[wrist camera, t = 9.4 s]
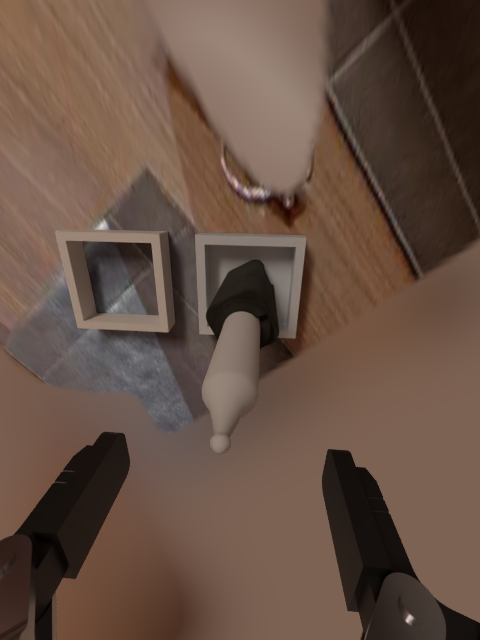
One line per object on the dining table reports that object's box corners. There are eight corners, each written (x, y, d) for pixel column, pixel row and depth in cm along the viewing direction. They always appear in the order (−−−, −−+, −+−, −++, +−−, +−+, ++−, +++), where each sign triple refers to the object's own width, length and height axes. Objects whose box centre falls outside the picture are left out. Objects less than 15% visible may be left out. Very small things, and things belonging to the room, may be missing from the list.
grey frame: (72, 229, 33) (54, 231, 30) (167, 231, 32) (159, 233, 30) (91, 319, 38) (77, 328, 35) (175, 323, 37) (168, 332, 34)
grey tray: (200, 232, 32) (195, 234, 29) (302, 234, 31) (306, 237, 29) (204, 324, 37) (199, 333, 34) (292, 328, 36) (295, 338, 33)
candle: (277, 293, 34) (304, 477, 11) (241, 309, 35) (196, 505, 12) (259, 255, 32) (248, 380, 9) (222, 274, 33) (130, 423, 10)
